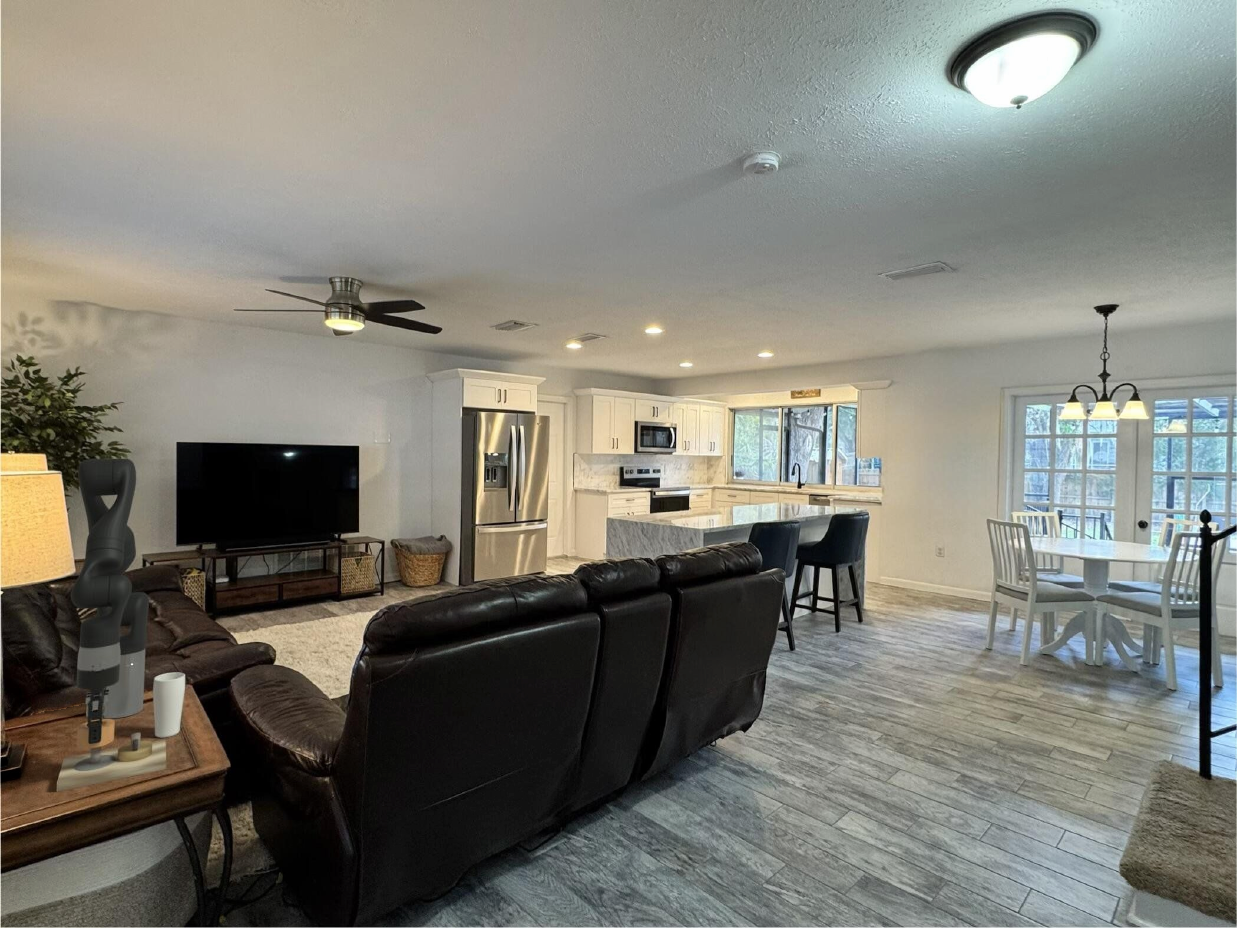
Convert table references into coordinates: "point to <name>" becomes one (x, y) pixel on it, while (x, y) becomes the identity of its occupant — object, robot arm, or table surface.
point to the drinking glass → (168, 703)
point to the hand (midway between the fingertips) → (95, 736)
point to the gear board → (112, 763)
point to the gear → (106, 734)
